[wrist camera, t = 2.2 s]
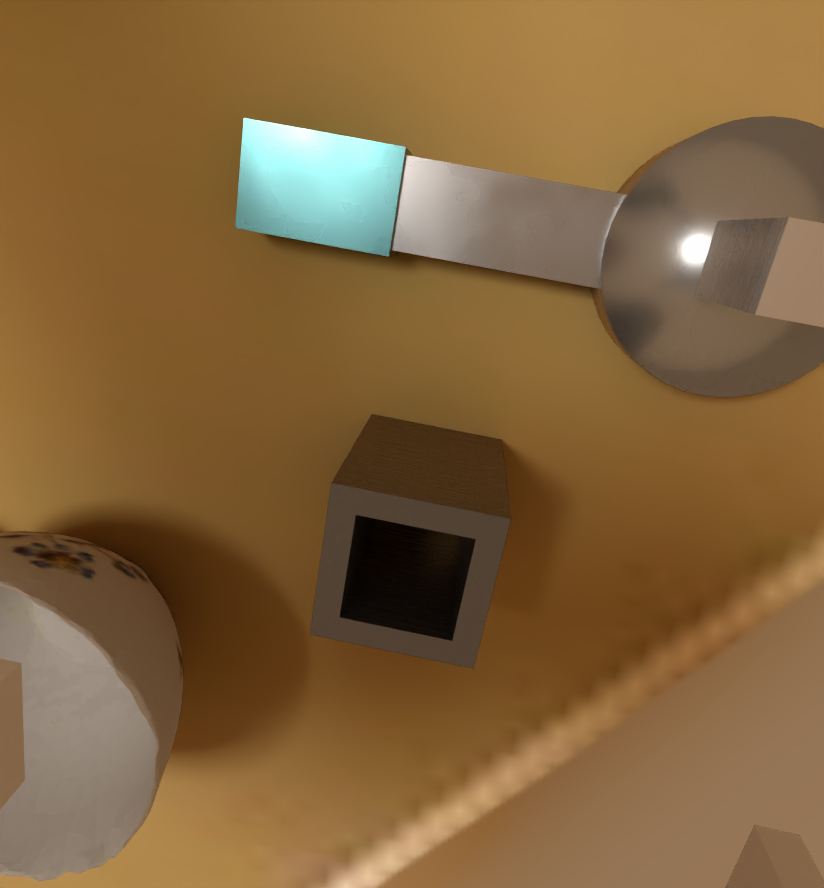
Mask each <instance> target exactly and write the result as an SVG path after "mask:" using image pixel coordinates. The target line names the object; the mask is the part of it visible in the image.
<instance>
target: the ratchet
mask: <svg viewBox="0 0 824 888" xmlns="http://www.w3.org/2000/svg"><path fill="white" fill-rule="evenodd" d="M235 228H238V229H243V230H249V231H254V232H259V233H265V234H270V235H275V236H281V237H286V238H292V239H297V240H302V241H308V242H313V243H318V244H324V245H329V246H334V247H340V248H345V249H351V250H356V251H361V252H367V253H372V254H377V255H383V256H388V257H389V256H393V255H397V252H398V251H399V252H404V253H410V254H415V255H420V256H426V257H431V258H437V259H442V260H447V261H453V262H458V263H463V264H469V265H474V266H480V267H485V268H490V269H496V270H501V271H506V272H512V273H517V274H523V275H528V276H533V277H539V278H544V279H549V280H555V281H560V282H565V283H571V284H576V285H582V286H587V287H591V290H592V295H593V300H594V304H595V307H596V310H597V313H598V316H599V318H600V320H601V322H602V324H603V326H604V328H605V330H606V331H607V333H608V334H609V335H610V337H611V338H612V340H613V341H614V342H615V343H616V344H617V346H618V347H619V348H620V349H621V350H622V351H623V352H624V353H625V354H627V355H628V356H629V357H630V358H632V359H633V360H634V361H635V362H636V363H638V364H639V365H640V366H641V367H643V368H644V369H645V370H646V371H648V372H649V373H650V374H652V375H653V376H654V377H656V378H658V379H659V380H661V381H663V382H664V383H666V384H668V385H670V386H673V387H675V388H678V389H680V390H683V391H686V392H690V393H694V394H698V395H704V396H712V397H738V396H746V395H753V394H757V393H761V392H765V391H769V390H772V389H775V388H777V387H780V386H783V385H786V384H788V383H790V382H792V381H794V380H796V379H798V378H800V377H802V376H804V375H805V374H807V373H808V372H810V371H811V370H813V369H815V368H816V367H818V366H819V365H820V364H822V363H823V362H824V129H823V128H821V127H818V126H816V125H814V124H811V123H808V122H804V121H800V120H796V119H792V118H783V117H773V116H771V117H751V118H746V119H740V120H734V121H730V122H727V123H724V124H721V125H718V126H714V127H712V128H710V129H707V130H705V131H703V132H701V133H699V134H696V135H694V136H692V137H690V138H688V139H685V140H683V141H681V142H679V143H677V144H674V145H672V146H670V147H668V148H667V149H665V150H663V151H662V152H660V153H658V154H657V155H655V156H654V157H652V158H651V159H650V160H648V161H647V162H646V163H645V164H643V165H642V166H641V167H640V168H639V169H638V170H637V171H636V172H635V173H634V174H633V175H632V176H631V177H630V178H629V179H628V180H627V181H626V182H625V183H624V184H623V186H622V187H621V188H620V190H619V191H618V192H617V193H614V192H609V191H603V190H597V189H592V188H586V187H581V186H575V185H570V184H564V183H559V182H553V181H547V180H542V179H536V178H531V177H525V176H520V175H514V174H509V173H503V172H498V171H492V170H486V169H481V168H475V167H470V166H464V165H459V164H453V163H448V162H442V161H436V160H431V159H425V158H420V157H414V156H413V155H412V154H411V153H410V151H409V150H408V149H407V148H406V147H404V146H398V145H392V144H387V143H381V142H376V141H370V140H365V139H359V138H353V137H348V136H342V135H337V134H331V133H326V132H320V131H314V130H309V129H303V128H298V127H292V126H287V125H281V124H276V123H270V122H264V121H259V120H253V119H248V118H244V120H243V133H242V146H241V159H240V172H239V185H238V198H237V211H236V224H235Z"/></svg>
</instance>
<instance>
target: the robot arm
mask: <svg viewBox="0 0 824 888" xmlns="http://www.w3.org/2000/svg"><path fill="white" fill-rule="evenodd" d="M24 781H25V765H24V731H23V697H22V664H21V663H18V662H14V661H9V660H5V659H0V809H1V808H2V807H3V806H4V805H5V803H6V802H7V801H8V800H9V799H10V797H11V796H12V795H13V794H14V793H15V791H16V790H17V789H18V788H19V787H20V786H21V784H22V783H23V782H24ZM725 888H824V880H823V878H822V876H821V874H820V872H819V870H818V869H817V867H816V865H815V863H814V861H813V859H812V858H811V855H810V854H809V852H808V850H807V848H806V846H805V844H804V843H803V841H802V839H801V837H800V835H797V834H792V833H788V832H783V831H779V830H774V829H770V828H765V827H761V826H756V825H754V827H753V829H752V832H751V834H750V836H749V838H748V840H747V842H746V844H745V846H744V849H743V851H742V853H741V855H740V857H739V859H738V862H737V864H736V866H735V868H734V870H733V873H732V874H731V877H730V879H729V881H728V883H727V885H726V887H725Z"/></svg>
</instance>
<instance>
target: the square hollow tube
mask: <svg viewBox="0 0 824 888" xmlns="http://www.w3.org/2000/svg"><path fill="white" fill-rule="evenodd" d="M510 521H511V515H510V507H509V498H508V490H507V481H506V472H505V464H504V455H503V446H502V440H500V439H495V438H490V437H485V436H479V435H474V434H469V433H464V432H459V431H454V430H449V429H444V428H439V427H434V426H428V425H423V424H418V423H413V422H408V421H403V420H398V419H393V418H388V417H383V416H377V415H371V416H370V418H369V420H368V422H367V423H366V425H365V427H364V428H363V430H362V432H361V433H360V435H359V437H358V439H357V440H356V442H355V444H354V445H353V447H352V449H351V451H350V452H349V454H348V456H347V457H346V459H345V461H344V462H343V464H342V466H341V468H340V469H339V471H338V473H337V474H336V476H335V478H334V479H333V481H332V483H331V489H330V497H329V504H328V511H327V518H326V525H325V532H324V539H323V546H322V553H321V560H320V567H319V574H318V581H317V588H316V595H315V602H314V609H313V616H312V623H311V630H310V635H315V636H320V637H325V638H329V639H334V640H339V641H344V642H348V643H353V644H358V645H363V646H367V647H372V648H377V649H382V650H386V651H391V652H396V653H401V654H405V655H410V656H415V657H420V658H424V659H429V660H434V661H439V662H444V663H448V664H453V665H458V666H463V667H467V668H472V669H474V665H475V661H476V657H477V653H478V649H479V645H480V641H481V637H482V633H483V629H484V625H485V621H486V617H487V613H488V609H489V605H490V601H491V597H492V593H493V589H494V585H495V581H496V577H497V573H498V569H499V565H500V561H501V557H502V553H503V549H504V545H505V541H506V537H507V533H508V529H509V525H510Z"/></svg>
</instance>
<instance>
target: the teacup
mask: <svg viewBox="0 0 824 888" xmlns="http://www.w3.org/2000/svg"><path fill="white" fill-rule="evenodd" d="M0 659H5V660H9V661H14V662H18V663H21V664H22V697H23V731H24V765H25V781H24V782H23V783H22V784H21V786H20V787H19V788H18V789H17V790H16V791H15V793H14V794H13V795H12V796H11V797H10V799H9V800H8V801H7V802H6V803H5V805H4V806H3V807H2V808H1V809H0V874H2V875H7V876H25V877H30V878H34V879H36V880H38V881H44V880H50V879H55V878H57V877H59V876H61V875H62V874H64V873H66V872H67V871H68V872H73V873H78V874H79V873H82V872H84V871H86V870H88V869H90V868H95V867H100V866H102V865H103V864H104V863H105V862H106V861H107V860H109V859H110V858H114V857H115V856H116V855H117V854H118V853H119V852H120V851H121V850H122V849H123V848H124V847H125V846H126V845H127V843H128V842H129V840H130V839H131V838H132V837H133V835H134V834H135V833H136V832H137V831H138V829H139V828H140V827H141V826H142V824H143V823H144V821H145V819H146V818H147V816H148V814H149V813H150V810H151V807H152V805H153V802H154V799H155V796H156V793H157V790H158V787H159V784H160V781H161V778H162V775H163V772H164V770H165V767H166V764H167V761H168V759H169V756H170V753H171V749H172V746H173V742H174V739H175V735H176V731H177V727H178V724H179V719H180V713H181V707H182V699H183V676H184V668H183V660H182V652H181V644H180V640H179V637H178V633H177V629H176V626H175V623H174V620H173V618H172V615H171V613H170V610H169V608H168V606H167V604H166V603H165V601H164V599H163V597H162V596H161V594H160V593H159V592H158V590H157V589H156V588H155V586H154V585H153V584H152V582H151V581H150V580H149V578H148V576H147V574H146V573H145V572H144V571H143V570H142V569H141V568H139V567H138V566H137V565H135V564H133V563H132V562H130V561H128V560H125V559H124V558H123V557H121V556H120V555H118V554H116V553H114V552H112V551H110V550H108V549H106V548H104V547H102V546H99V545H96V544H94V543H91V542H88V541H85V540H82V539H78V538H75V537H70V536H65V535H59V534H52V533H41V532H0Z"/></svg>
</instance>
